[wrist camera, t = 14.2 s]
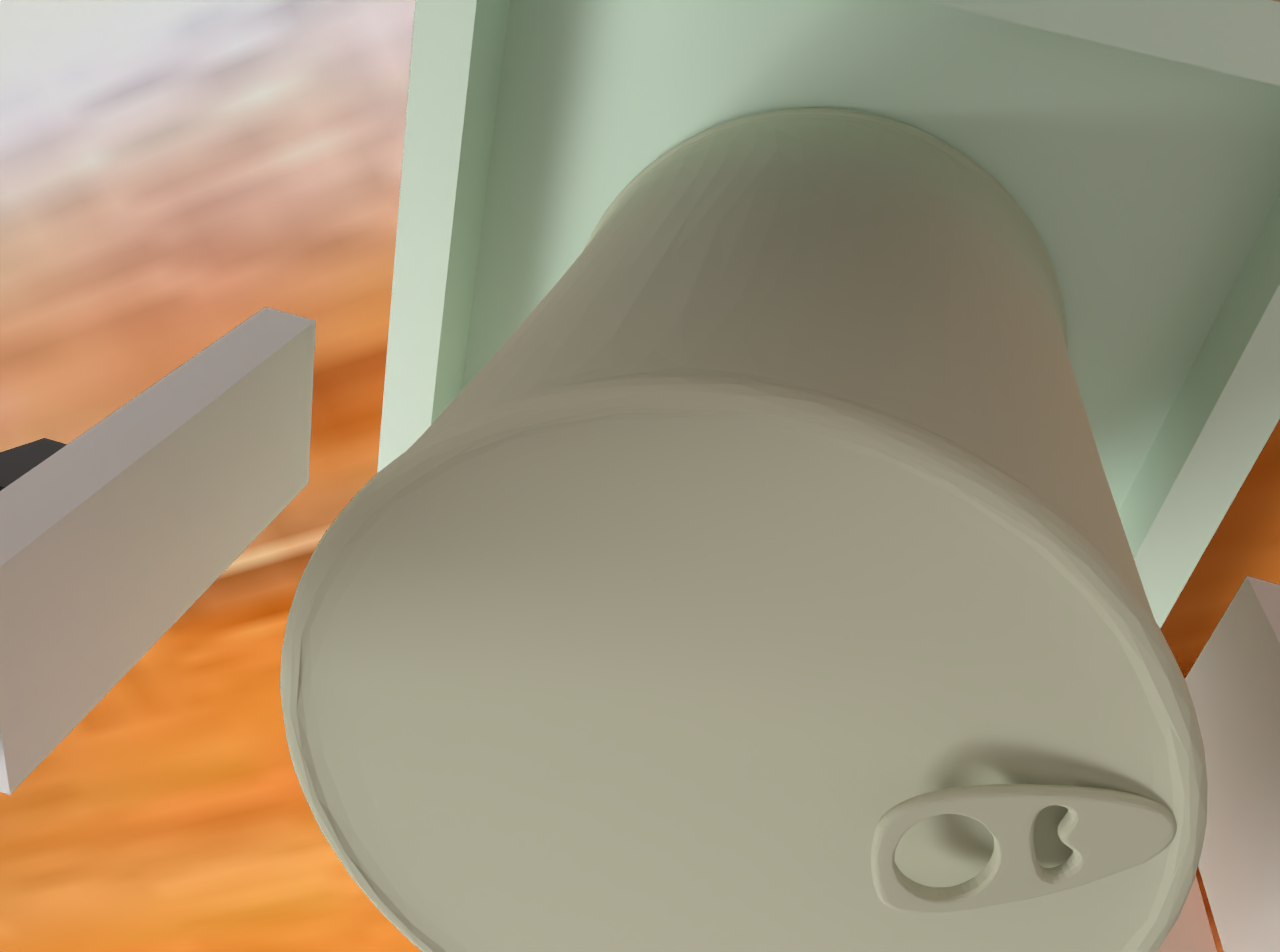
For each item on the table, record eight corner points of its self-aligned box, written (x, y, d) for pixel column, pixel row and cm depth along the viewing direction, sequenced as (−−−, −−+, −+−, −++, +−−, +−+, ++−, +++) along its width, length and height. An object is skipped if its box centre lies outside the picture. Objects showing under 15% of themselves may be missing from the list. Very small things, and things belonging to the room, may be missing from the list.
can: (1062, 561, 22) (1195, 1194, 11) (612, 569, 24) (385, 1096, 14) (1070, 69, 17) (1289, 365, 7) (524, 140, 20) (106, 437, 10)
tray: (412, 542, 26) (366, 603, 24) (488, -189, 18) (431, -196, 16) (1043, 730, 25) (1055, 812, 22) (1415, 27, 17) (1488, 50, 15)
